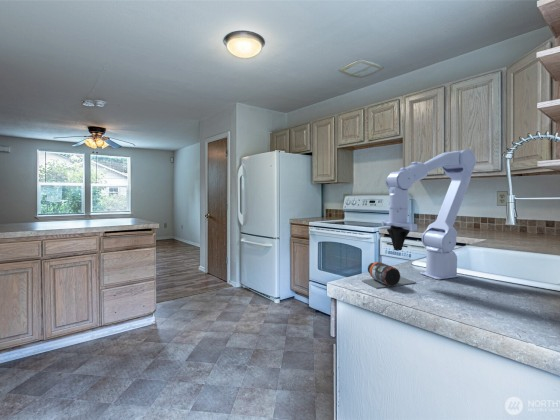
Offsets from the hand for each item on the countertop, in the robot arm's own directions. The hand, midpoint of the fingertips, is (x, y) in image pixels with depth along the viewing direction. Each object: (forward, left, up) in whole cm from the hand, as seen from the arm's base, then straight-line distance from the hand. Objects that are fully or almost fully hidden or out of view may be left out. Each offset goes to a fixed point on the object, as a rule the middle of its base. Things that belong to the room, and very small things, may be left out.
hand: (397, 250), depth 102 cm
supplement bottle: (+6, +5, -7) cm, 11 cm away
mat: (+4, 0, -10) cm, 11 cm away
